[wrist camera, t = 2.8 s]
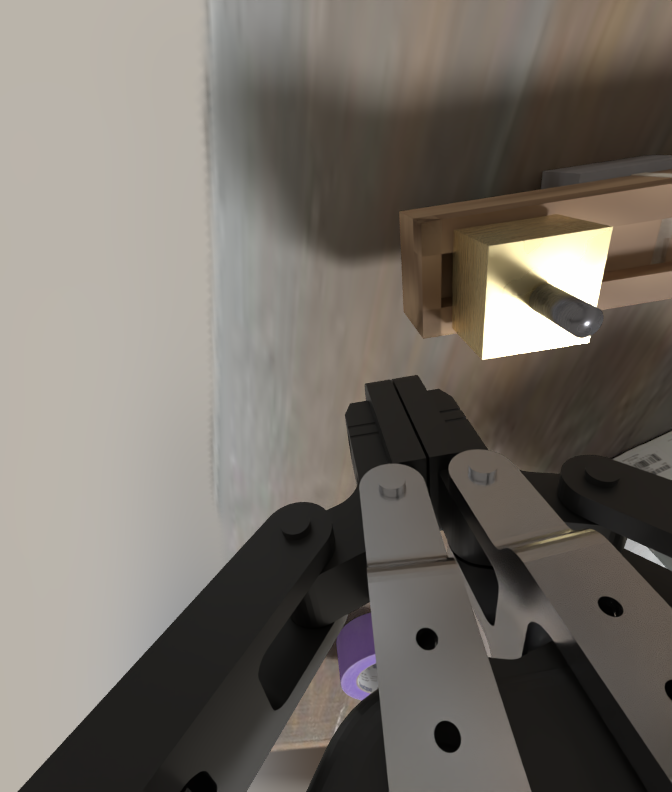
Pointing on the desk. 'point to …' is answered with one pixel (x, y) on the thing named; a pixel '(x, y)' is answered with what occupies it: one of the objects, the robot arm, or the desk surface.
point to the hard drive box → (653, 468)
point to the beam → (560, 194)
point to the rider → (528, 284)
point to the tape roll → (357, 658)
